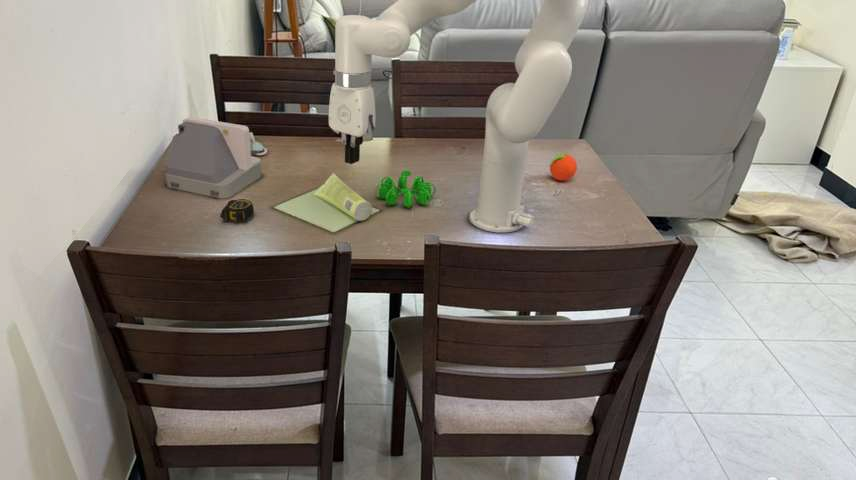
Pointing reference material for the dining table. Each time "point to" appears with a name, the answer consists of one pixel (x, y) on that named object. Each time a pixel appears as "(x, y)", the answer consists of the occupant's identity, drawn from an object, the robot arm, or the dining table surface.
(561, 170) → the clementine
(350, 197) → the tube
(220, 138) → the instant camera
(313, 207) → the mat
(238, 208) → the tape measure
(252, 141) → the pacifier
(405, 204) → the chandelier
